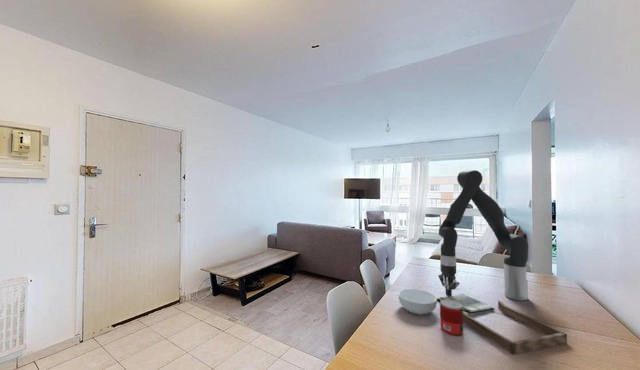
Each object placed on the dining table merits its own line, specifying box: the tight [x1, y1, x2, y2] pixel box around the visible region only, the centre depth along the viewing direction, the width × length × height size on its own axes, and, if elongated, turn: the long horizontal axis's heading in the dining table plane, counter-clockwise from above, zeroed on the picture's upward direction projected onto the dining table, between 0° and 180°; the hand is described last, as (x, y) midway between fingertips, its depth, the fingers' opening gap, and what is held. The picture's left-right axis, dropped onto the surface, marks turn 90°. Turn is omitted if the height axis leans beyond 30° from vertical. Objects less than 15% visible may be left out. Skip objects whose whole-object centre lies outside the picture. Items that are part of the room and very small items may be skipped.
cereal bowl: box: [398, 288, 438, 316], centre depth 114 cm, size 17×17×7 cm
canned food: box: [439, 299, 464, 337], centre depth 98 cm, size 8×8×11 cm
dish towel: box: [436, 293, 495, 316], centre depth 119 cm, size 19×18×3 cm
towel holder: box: [463, 300, 568, 355], centre depth 100 cm, size 30×28×4 cm
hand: (448, 295), depth 129 cm, fingers closed
